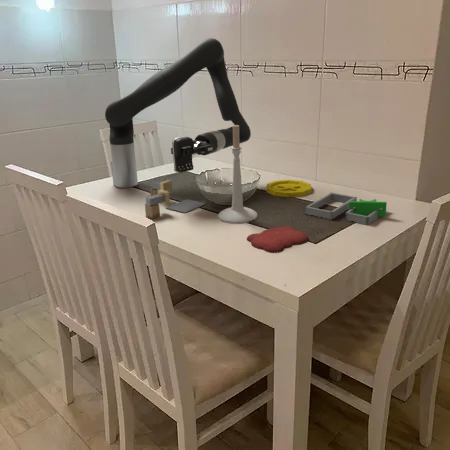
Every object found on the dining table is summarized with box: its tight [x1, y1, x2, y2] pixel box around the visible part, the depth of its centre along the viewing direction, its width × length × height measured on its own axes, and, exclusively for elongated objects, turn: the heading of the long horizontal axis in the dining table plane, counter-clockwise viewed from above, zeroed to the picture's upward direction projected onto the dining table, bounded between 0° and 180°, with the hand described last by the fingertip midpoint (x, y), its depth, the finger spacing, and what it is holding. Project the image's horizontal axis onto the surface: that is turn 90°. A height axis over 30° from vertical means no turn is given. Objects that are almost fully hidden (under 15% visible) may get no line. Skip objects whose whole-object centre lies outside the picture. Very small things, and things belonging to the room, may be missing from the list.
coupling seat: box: [165, 199, 207, 214], centre depth 167 cm, size 9×11×1 cm
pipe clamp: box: [349, 198, 387, 217], centre depth 153 cm, size 11×4×5 cm, turn 75°
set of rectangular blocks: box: [144, 179, 173, 220], centre depth 166 cm, size 8×23×8 cm, turn 2°
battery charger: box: [171, 136, 194, 173], centre depth 161 cm, size 7×4×11 cm, turn 127°
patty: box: [246, 225, 309, 254], centre depth 138 cm, size 18×14×2 cm
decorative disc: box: [265, 179, 313, 198], centre depth 182 cm, size 17×18×2 cm
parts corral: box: [304, 192, 383, 226], centre depth 157 cm, size 21×19×2 cm
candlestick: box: [217, 124, 258, 225], centre depth 151 cm, size 13×13×30 cm
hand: (178, 152), depth 159 cm, fingers closed on battery charger, 5 cm apart
